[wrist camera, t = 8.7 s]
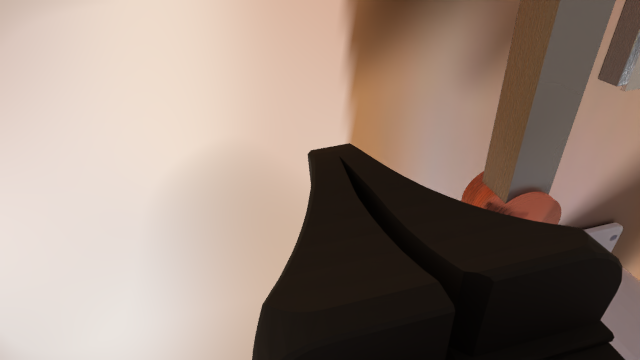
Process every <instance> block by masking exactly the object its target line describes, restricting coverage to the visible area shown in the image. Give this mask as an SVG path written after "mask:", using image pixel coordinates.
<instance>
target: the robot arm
mask: <svg viewBox="0 0 640 360" xmlns="http://www.w3.org/2000/svg"><path fill="white" fill-rule="evenodd" d="M308 162H309V171H310V180H311V191H310V196H309V202H308V208H307V212H306V216H305V219H304V223H303V226H302V229H301V232H300V234H299V237H298V240H297V243H296V245H295V248H294V250H293V252H292V254H291V256H290V258H289V260H288V262H287V264H286V266H285V268H284V270H283V272H282V274H281V276H280V278H279V280H278V281H277V283H276V284H275V286H274V287H273V289H272V290H271V292H270V294H269V295H268V297H267V298H266V300H265V302H264V303H263V305H262V309H261V313H260V317H259V321H258V326H257V331H256V336H255V341H254V348H253V356H252V360H640V281H639V280H638V279H637V278H635V277H634V276H633V275H632V274H631V273H629V272H628V271H627V270H626V269H625V268H623V267H622V265H621V263H620V261H619V259H618V258H617V257H616V256H614V255H613V254H612V253H611V252H612V250H613V248H614V246H615V244H616V242H617V240H618V238H619V236H620V234H621V233H622V231H623V226H621V225H620V224H619V223H611V224H606V225H602V226H598V227H594V228H589V229H585V230H583V229H580V228H574V227H568V226H562V225H556V224H550V223H544V222H538V221H533V220H528V219H524V218H519V217H515V216H511V215H506V214H502V213H498V212H495V211H491V210H487V209H484V208H481V207H477V206H474V205H471V204H468V203H465V202H462V201H459V200H456V199H453V198H451V197H448V196H446V195H443V194H441V193H438V192H436V191H433V190H431V189H429V188H426V187H424V186H422V185H420V184H418V183H416V182H414V181H412V180H410V179H408V178H406V177H404V176H402V175H401V174H399V173H397V172H395V171H394V170H392V169H390V168H388V167H387V166H385V165H383V164H382V163H380V162H379V161H377V160H375V159H374V158H372V157H371V156H369V155H368V154H366V153H364V152H363V151H361V150H360V149H358V148H357V147H355V146H353V145H352V144H350V143H349V144H344V145H338V146H333V147H327V148H321V149H317V150H311V151H310V152H309V153H308Z"/></svg>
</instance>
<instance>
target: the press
mask: <svg viewBox="0 0 640 360" xmlns="http://www.w3.org/2000/svg"><path fill="white" fill-rule="evenodd" d="M598 79H599V80H602V81H604V82H607V83H610V84H612V85H615V86H622V85H623V86H622V88H621V90H623V91H629V90H634V89H640V0H626V3H625V6H624V9H623V11H622V14H621V17H620V20H619V23H618V25H617V28H616V31H615V34H614V36H613V39H612V42H611V45H610V47H609V50H608V53H607V56H606V59H605V61H604V64H603V67H602V70H601V72H600V75H599V78H598Z"/></svg>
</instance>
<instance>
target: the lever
mask: <svg viewBox="0 0 640 360" xmlns="http://www.w3.org/2000/svg"><path fill="white" fill-rule="evenodd" d="M615 1H616V0H520V5H519V10H518V14H517V19H516V24H515V28H514V33H513V38H512V42H511V47H510V52H509V57H508V61H507V66H506V71H505V75H504V80H503V85H502V90H501V94H500V99H499V104H498V108H497V113H496V118H495V123H494V127H493V132H492V137H491V141H490V146H489V151H488V155H487V160H486V165H485V170H484V172H482V173H480V174H479V175H478V176H476V177H475V178H474V179H473V180H472V181H471V182H470V183H469V185H468V186H467V188H466V189H465V191H464V193H463V196H462V200H461V201H462V202H465V203H468V204H471V205H474V206H477V207H481V208H484V209H487V210H491V211H495V212H498V213H502V214H506V215H511V216H515V217H519V218H524V219H528V220H533V221H538V222H544V223H550V224H556V225H557V224H558V222H559V220H560V217H561V207H560V205H559V203H558V202H557V201H556V200H554V199H553V198H552V197H551V196H549V195H548V194H549V192H550V189H551V186H552V183H553V180H554V177H555V174H556V171H557V168H558V166H559V163H560V160H561V157H562V154H563V151H564V148H565V145H566V142H567V140H568V137H569V134H570V131H571V128H572V125H573V122H574V119H575V116H576V114H577V111H578V108H579V105H580V102H581V99H582V96H583V93H584V90H585V88H586V85H587V82H588V79H589V76H590V73H591V70H592V67H593V64H594V62H595V59H596V56H597V53H598V50H599V47H600V44H601V41H602V38H603V36H604V33H605V30H606V27H607V24H608V21H609V18H610V15H611V12H612V10H613V7H614V4H615Z"/></svg>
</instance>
